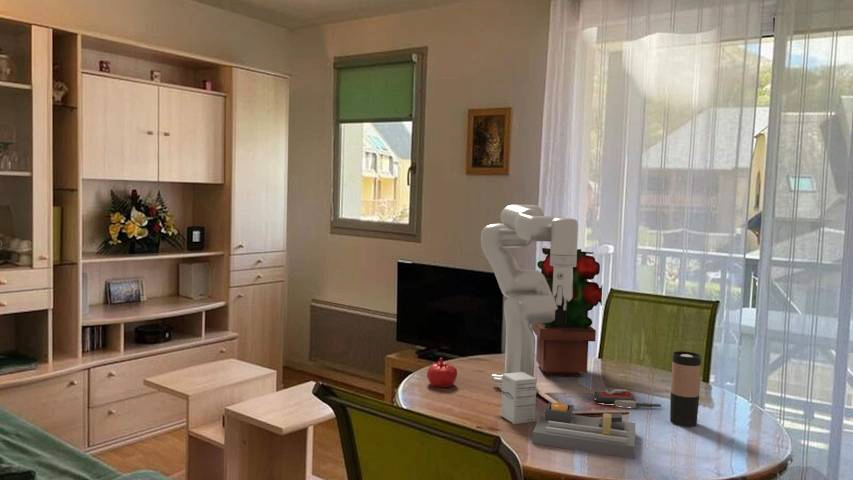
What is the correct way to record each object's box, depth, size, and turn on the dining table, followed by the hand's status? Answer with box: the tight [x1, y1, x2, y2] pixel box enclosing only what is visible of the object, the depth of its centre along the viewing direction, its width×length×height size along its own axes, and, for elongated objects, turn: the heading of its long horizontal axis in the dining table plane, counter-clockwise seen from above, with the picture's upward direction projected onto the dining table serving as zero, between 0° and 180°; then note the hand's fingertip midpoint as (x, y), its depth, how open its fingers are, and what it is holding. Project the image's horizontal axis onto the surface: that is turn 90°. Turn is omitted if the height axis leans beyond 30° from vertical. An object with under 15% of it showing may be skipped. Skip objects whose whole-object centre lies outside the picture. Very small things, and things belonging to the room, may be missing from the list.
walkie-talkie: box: [593, 388, 662, 409], centre depth 201 cm, size 9×4×20 cm
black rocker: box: [601, 413, 623, 422], centre depth 172 cm, size 5×4×1 cm
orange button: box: [551, 402, 569, 412], centre depth 177 cm, size 4×4×3 cm
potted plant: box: [530, 247, 603, 377], centre depth 236 cm, size 22×22×45 cm
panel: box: [531, 402, 636, 459], centre depth 170 cm, size 25×18×6 cm
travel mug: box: [669, 350, 702, 428], centre depth 184 cm, size 8×8×20 cm
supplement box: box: [500, 372, 538, 425], centre depth 184 cm, size 7×7×13 cm
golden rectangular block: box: [602, 412, 613, 435], centre depth 164 cm, size 2×3×5 cm, turn 161°
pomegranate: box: [426, 357, 458, 388], centre depth 215 cm, size 10×10×9 cm
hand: (560, 323), depth 187 cm, fingers closed
